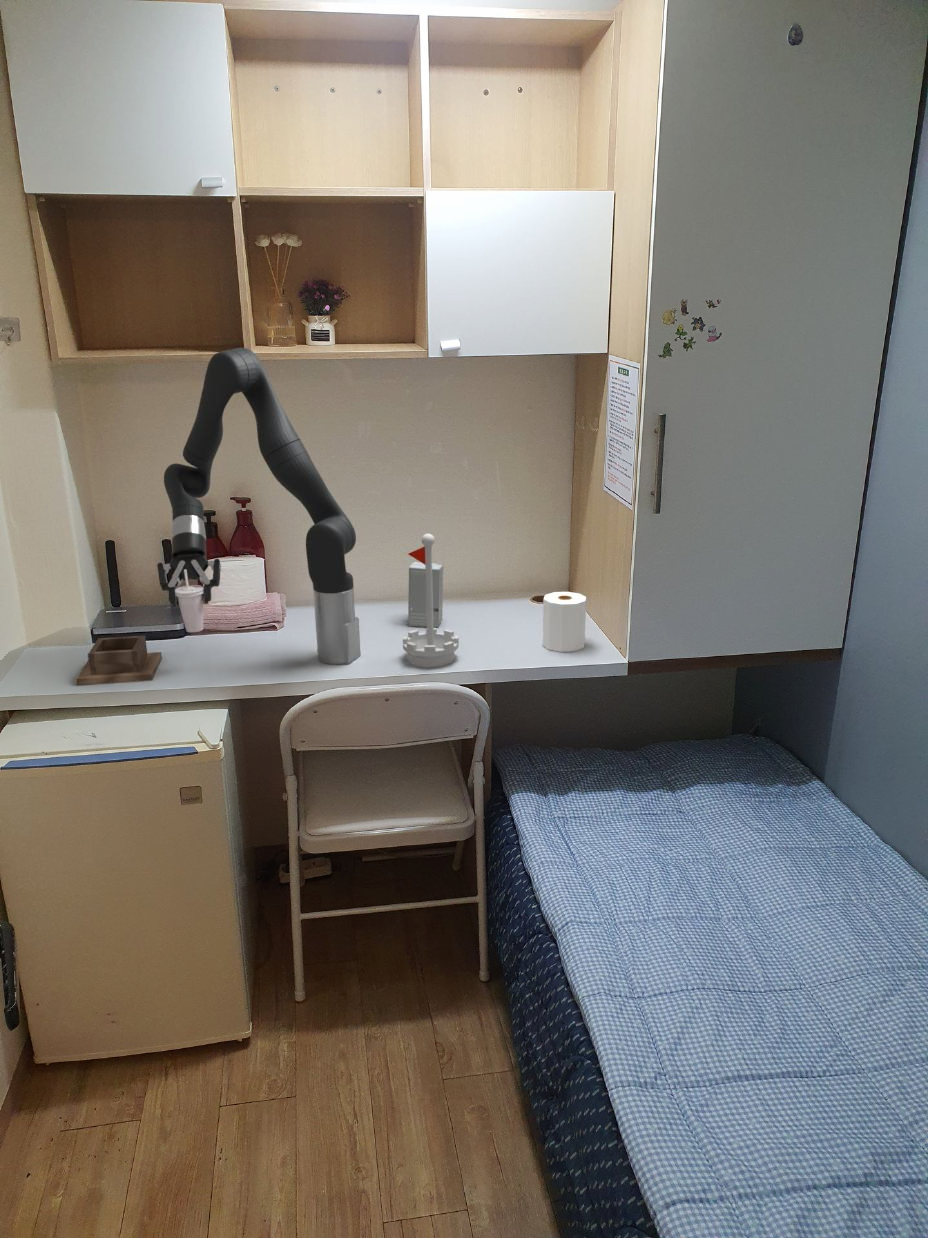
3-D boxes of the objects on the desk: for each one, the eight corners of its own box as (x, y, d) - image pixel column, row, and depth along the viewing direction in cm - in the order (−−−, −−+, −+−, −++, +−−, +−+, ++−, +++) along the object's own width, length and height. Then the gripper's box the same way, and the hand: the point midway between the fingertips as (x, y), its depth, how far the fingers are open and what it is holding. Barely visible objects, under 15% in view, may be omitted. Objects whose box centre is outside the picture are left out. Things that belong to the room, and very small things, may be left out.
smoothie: (198, 623, 209) (190, 564, 205) (215, 628, 205) (207, 568, 201) (174, 630, 205) (165, 571, 200) (191, 636, 201) (182, 575, 196)
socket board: (161, 657, 215) (158, 632, 213) (152, 680, 202) (148, 653, 200) (91, 662, 213) (87, 636, 210) (76, 685, 199) (72, 657, 197)
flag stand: (467, 652, 216) (465, 529, 206) (445, 671, 205) (443, 542, 195) (417, 645, 221) (413, 525, 211) (393, 664, 209) (388, 538, 200)
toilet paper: (587, 652, 215) (589, 603, 212) (544, 652, 215) (545, 604, 211) (582, 637, 225) (583, 591, 221) (540, 638, 225) (541, 591, 221)
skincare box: (408, 627, 234) (406, 567, 229) (413, 618, 241) (411, 560, 236) (440, 628, 233) (439, 568, 228) (444, 619, 239) (443, 561, 234)
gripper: (153, 533, 204) (153, 598, 197) (218, 528, 206) (221, 592, 199) (159, 550, 211) (160, 614, 203) (222, 545, 213) (225, 608, 206)
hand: (190, 603), depth 201 cm, fingers closed on smoothie, 6 cm apart
